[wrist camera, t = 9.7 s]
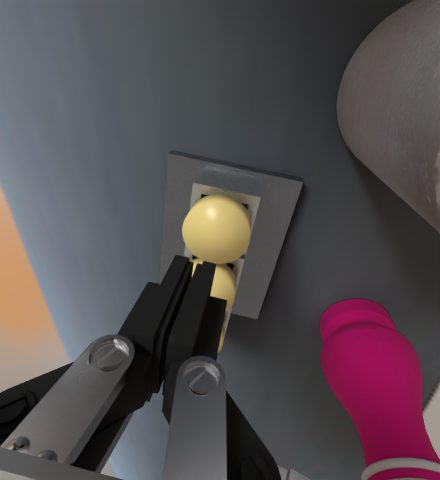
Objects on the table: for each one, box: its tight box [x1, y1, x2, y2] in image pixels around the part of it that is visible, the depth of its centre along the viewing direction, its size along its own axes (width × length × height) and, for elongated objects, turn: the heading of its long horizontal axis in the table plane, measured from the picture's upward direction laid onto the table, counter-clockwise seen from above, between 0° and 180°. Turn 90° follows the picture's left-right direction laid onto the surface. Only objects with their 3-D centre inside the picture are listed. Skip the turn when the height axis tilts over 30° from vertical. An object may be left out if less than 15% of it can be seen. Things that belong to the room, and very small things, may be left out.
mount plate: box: [159, 151, 303, 340], centre depth 22 cm, size 14×10×5 cm
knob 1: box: [182, 194, 252, 264], centre depth 19 cm, size 4×4×6 cm
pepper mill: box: [319, 299, 440, 480], centre depth 18 cm, size 7×7×20 cm
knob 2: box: [191, 258, 237, 312], centre depth 21 cm, size 4×4×6 cm
